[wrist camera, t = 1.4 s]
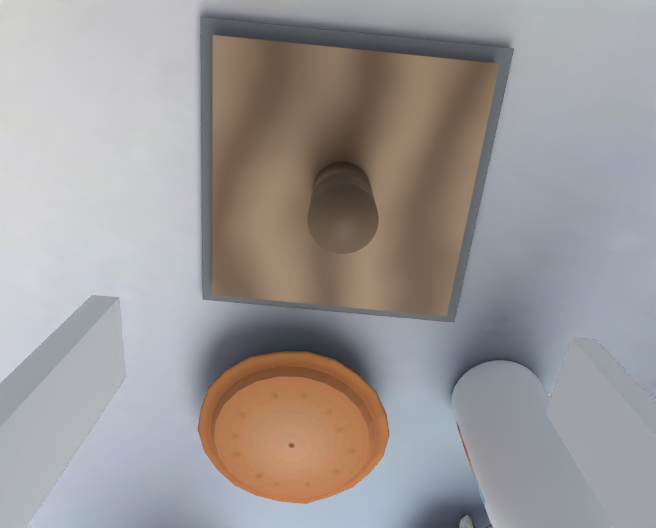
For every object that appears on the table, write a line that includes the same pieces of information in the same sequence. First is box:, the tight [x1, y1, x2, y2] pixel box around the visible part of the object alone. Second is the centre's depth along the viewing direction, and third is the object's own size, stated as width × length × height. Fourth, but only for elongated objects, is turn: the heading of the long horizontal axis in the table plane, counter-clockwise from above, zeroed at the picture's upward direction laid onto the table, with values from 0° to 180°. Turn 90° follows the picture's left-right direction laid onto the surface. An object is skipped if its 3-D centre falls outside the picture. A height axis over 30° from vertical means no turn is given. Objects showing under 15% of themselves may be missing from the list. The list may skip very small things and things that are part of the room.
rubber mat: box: [201, 17, 514, 322], centre depth 35 cm, size 20×20×1 cm
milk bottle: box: [451, 360, 615, 528], centre depth 33 cm, size 8×8×20 cm
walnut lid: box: [212, 35, 500, 316], centre depth 31 cm, size 18×18×8 cm
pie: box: [198, 351, 389, 504], centre depth 41 cm, size 15×16×5 cm
